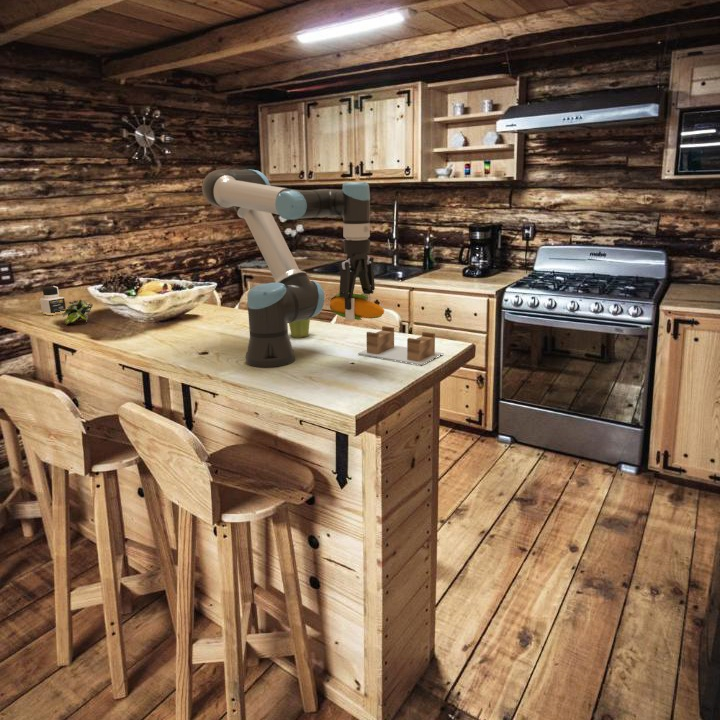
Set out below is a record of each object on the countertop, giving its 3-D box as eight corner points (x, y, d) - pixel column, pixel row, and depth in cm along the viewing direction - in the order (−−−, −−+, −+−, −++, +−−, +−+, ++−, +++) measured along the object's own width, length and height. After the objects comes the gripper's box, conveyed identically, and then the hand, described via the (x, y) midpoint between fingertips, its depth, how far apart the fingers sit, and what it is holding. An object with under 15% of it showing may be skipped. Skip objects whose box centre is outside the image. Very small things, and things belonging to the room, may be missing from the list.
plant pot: (308, 339, 213) (307, 315, 210) (283, 338, 215) (281, 314, 212) (315, 333, 222) (315, 309, 219) (291, 332, 223) (290, 309, 221)
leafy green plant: (78, 334, 250) (87, 307, 254) (95, 332, 244) (103, 305, 248) (54, 323, 241) (62, 296, 245) (70, 321, 235) (79, 293, 239)
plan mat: (421, 366, 180) (421, 364, 180) (358, 354, 193) (358, 353, 192) (443, 355, 191) (443, 353, 191) (382, 345, 204) (382, 343, 203)
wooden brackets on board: (418, 363, 182) (418, 340, 180) (366, 354, 193) (366, 332, 191) (434, 355, 190) (435, 333, 188) (383, 347, 201) (383, 326, 199)
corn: (339, 287, 185) (392, 294, 173) (341, 311, 187) (393, 320, 175) (322, 292, 179) (376, 300, 167) (325, 317, 182) (377, 327, 170)
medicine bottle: (51, 316, 259) (46, 288, 256) (42, 314, 263) (37, 287, 259) (66, 313, 265) (62, 286, 261) (57, 311, 268) (53, 284, 265)
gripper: (346, 242, 162) (348, 326, 168) (387, 236, 178) (387, 313, 184) (324, 241, 166) (326, 322, 173) (366, 235, 182) (366, 310, 188)
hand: (357, 317), depth 178 cm, fingers closed on corn, 7 cm apart
